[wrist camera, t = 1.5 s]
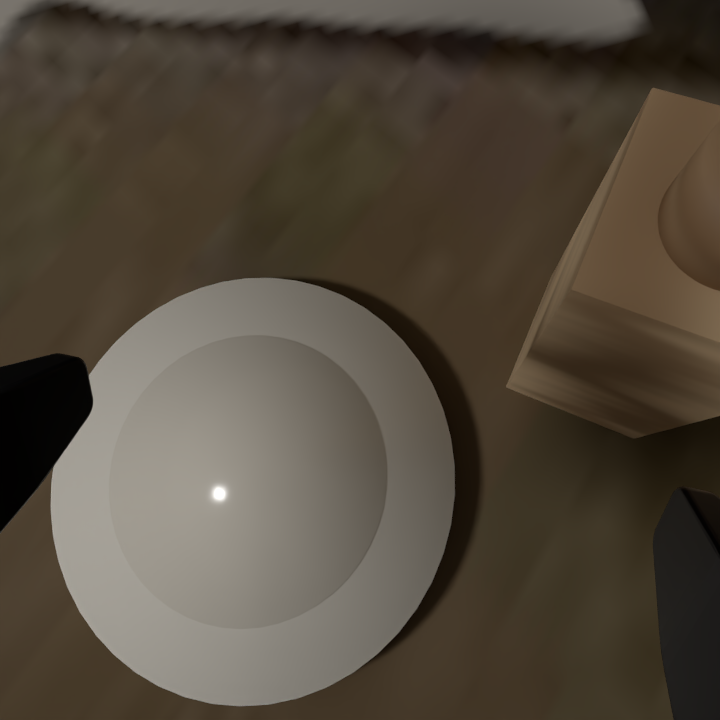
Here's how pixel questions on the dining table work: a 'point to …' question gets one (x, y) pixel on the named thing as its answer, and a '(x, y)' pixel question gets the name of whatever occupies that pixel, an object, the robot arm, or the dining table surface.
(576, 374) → the pepper mill
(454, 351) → the dining table surface
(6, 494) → the robot arm
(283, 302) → the cream plate
